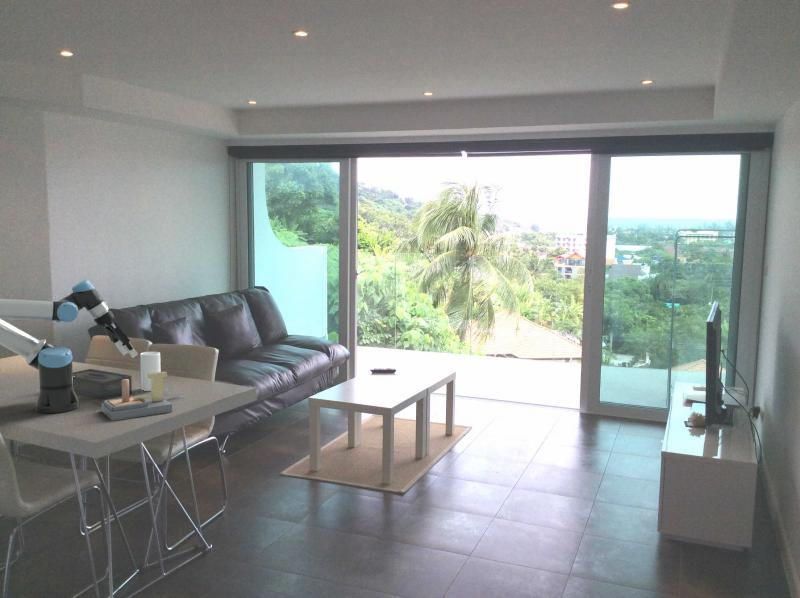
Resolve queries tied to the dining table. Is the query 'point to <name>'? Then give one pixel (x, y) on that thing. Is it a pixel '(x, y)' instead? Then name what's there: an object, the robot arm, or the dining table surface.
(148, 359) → the cup
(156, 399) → the key
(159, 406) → the housing
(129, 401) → the cover
